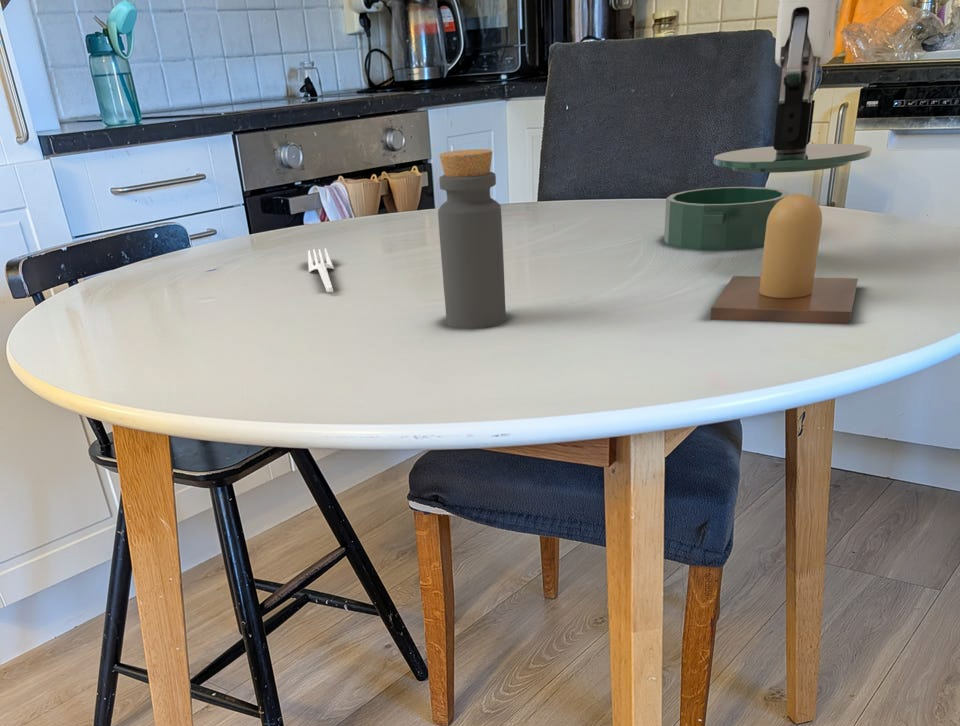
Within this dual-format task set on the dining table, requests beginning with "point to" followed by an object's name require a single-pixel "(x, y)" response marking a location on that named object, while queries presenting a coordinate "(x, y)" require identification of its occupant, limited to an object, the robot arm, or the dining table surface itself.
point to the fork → (321, 268)
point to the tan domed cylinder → (791, 247)
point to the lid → (792, 157)
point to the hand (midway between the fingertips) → (791, 145)
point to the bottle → (471, 241)
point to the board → (786, 302)
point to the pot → (719, 217)
